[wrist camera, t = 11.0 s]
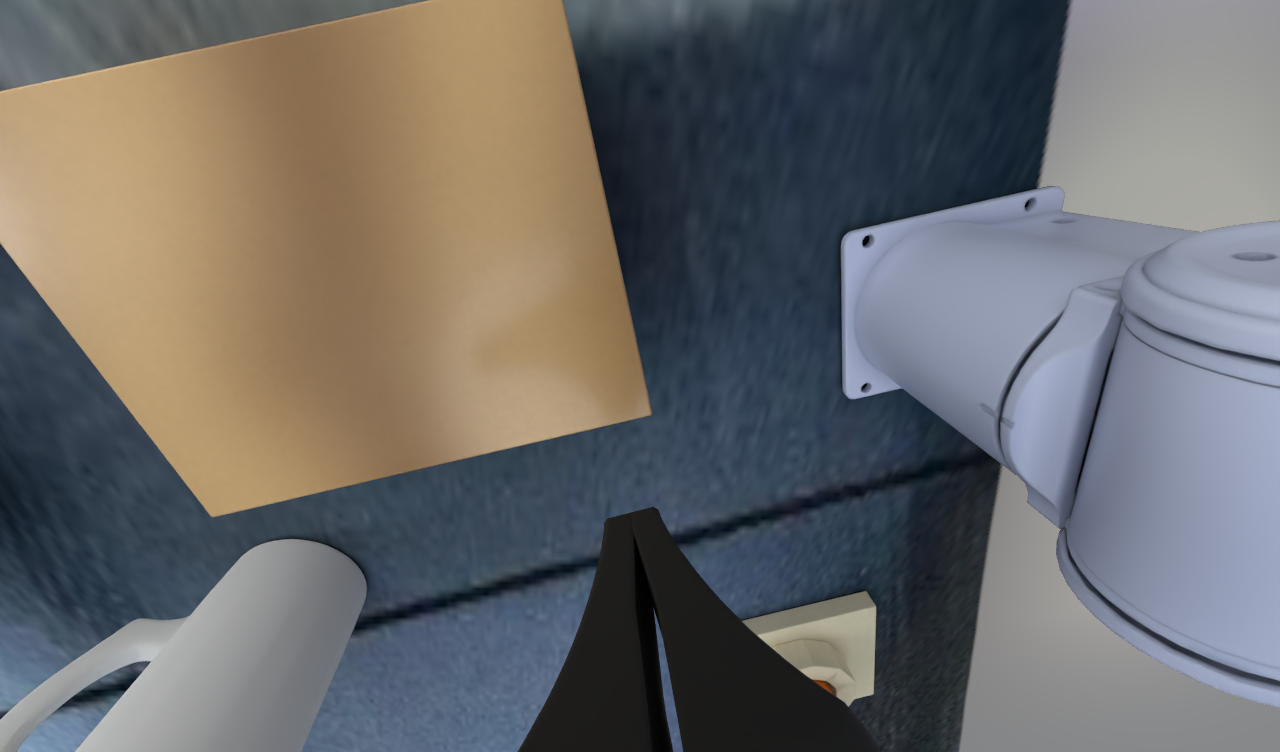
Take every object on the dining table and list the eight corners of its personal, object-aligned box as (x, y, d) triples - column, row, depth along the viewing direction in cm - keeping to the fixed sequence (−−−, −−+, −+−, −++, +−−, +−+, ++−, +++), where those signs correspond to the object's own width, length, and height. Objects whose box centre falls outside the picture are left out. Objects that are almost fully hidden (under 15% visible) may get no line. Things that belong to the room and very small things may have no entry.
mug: (377, 541, 25) (225, 851, 14) (371, 633, 27) (238, 953, 17) (142, 516, 23) (-254, 858, 12) (159, 617, 25) (-152, 973, 14)
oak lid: (557, -21, 11) (557, -29, 11) (650, 406, 16) (652, 416, 16) (-71, 113, 11) (-104, 112, 11) (223, 505, 16) (211, 518, 16)
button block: (866, 590, 31) (894, 633, 28) (864, 677, 35) (888, 722, 32) (694, 631, 30) (705, 679, 28) (712, 714, 34) (724, 763, 32)
